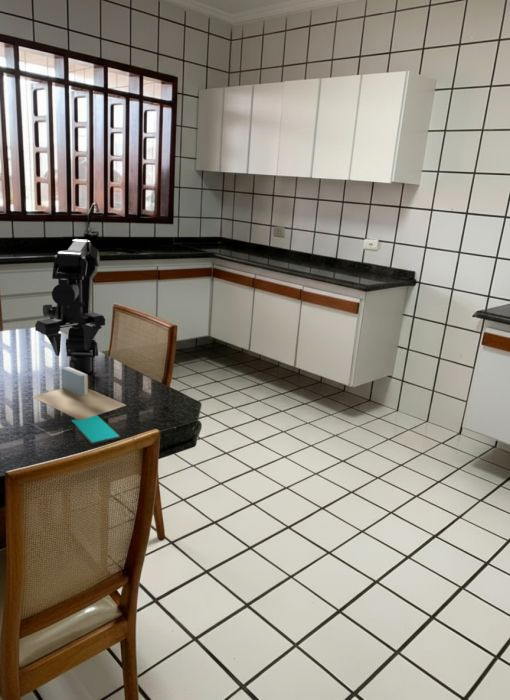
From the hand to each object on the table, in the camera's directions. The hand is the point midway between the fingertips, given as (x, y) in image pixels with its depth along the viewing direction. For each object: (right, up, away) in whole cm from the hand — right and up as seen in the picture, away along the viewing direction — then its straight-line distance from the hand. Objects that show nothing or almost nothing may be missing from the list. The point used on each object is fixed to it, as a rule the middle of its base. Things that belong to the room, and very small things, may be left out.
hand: (72, 352), depth 151 cm
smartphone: (+12, -19, -19) cm, 29 cm away
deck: (0, -11, +3) cm, 12 cm away
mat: (+3, -14, -3) cm, 14 cm away
